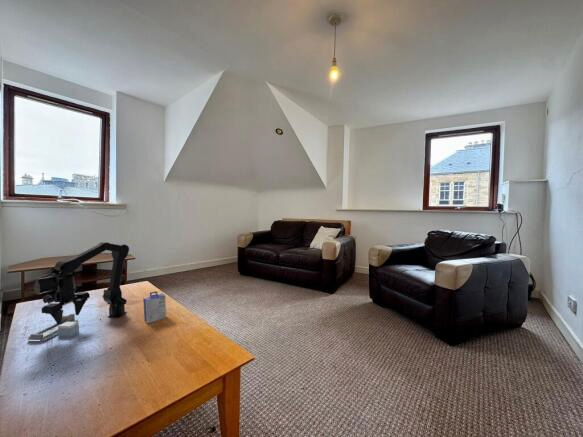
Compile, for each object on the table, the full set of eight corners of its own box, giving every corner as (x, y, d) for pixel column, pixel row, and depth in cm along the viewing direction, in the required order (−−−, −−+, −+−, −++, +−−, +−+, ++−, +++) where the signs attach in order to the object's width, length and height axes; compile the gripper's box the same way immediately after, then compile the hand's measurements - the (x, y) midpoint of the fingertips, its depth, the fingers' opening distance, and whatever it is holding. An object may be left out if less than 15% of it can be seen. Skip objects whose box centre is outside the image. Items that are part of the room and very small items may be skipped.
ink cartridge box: (163, 314, 138) (162, 289, 137) (167, 317, 134) (166, 291, 133) (143, 320, 131) (142, 293, 130) (146, 324, 127) (145, 296, 126)
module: (67, 331, 120) (66, 321, 120) (79, 331, 120) (78, 321, 119) (58, 336, 116) (58, 326, 116) (71, 336, 116) (70, 326, 115)
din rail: (78, 323, 128) (77, 313, 128) (44, 341, 111) (43, 329, 111) (64, 323, 128) (63, 313, 128) (28, 341, 111) (27, 329, 111)
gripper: (68, 281, 126) (70, 310, 127) (28, 294, 108) (30, 329, 108) (89, 281, 126) (91, 311, 127) (53, 294, 107) (55, 329, 108)
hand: (68, 319), depth 117 cm, fingers open, 9 cm apart
